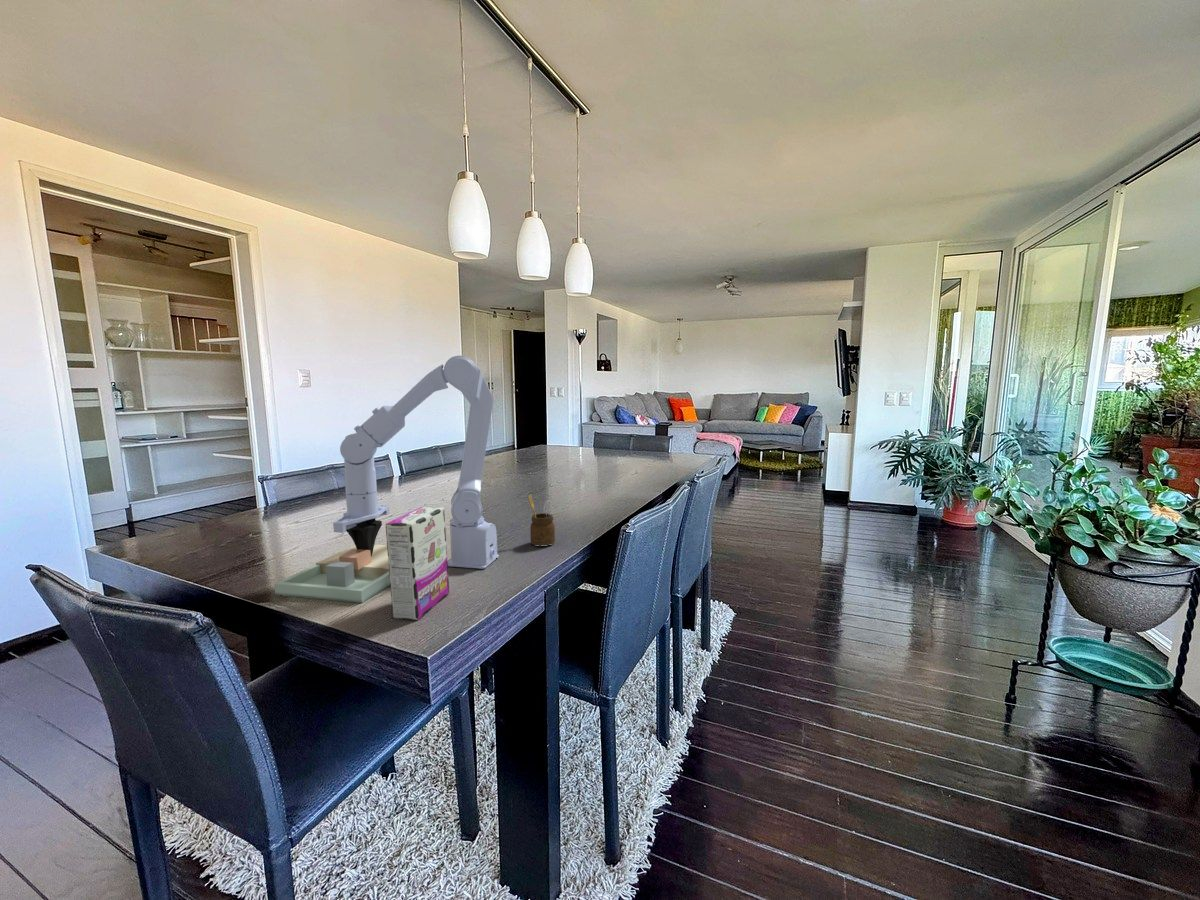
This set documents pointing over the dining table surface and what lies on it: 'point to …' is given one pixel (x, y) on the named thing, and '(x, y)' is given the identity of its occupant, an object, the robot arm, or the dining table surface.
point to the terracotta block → (356, 558)
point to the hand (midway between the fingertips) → (365, 556)
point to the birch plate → (372, 569)
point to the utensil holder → (542, 527)
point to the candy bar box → (417, 562)
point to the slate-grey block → (340, 574)
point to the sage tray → (315, 586)
